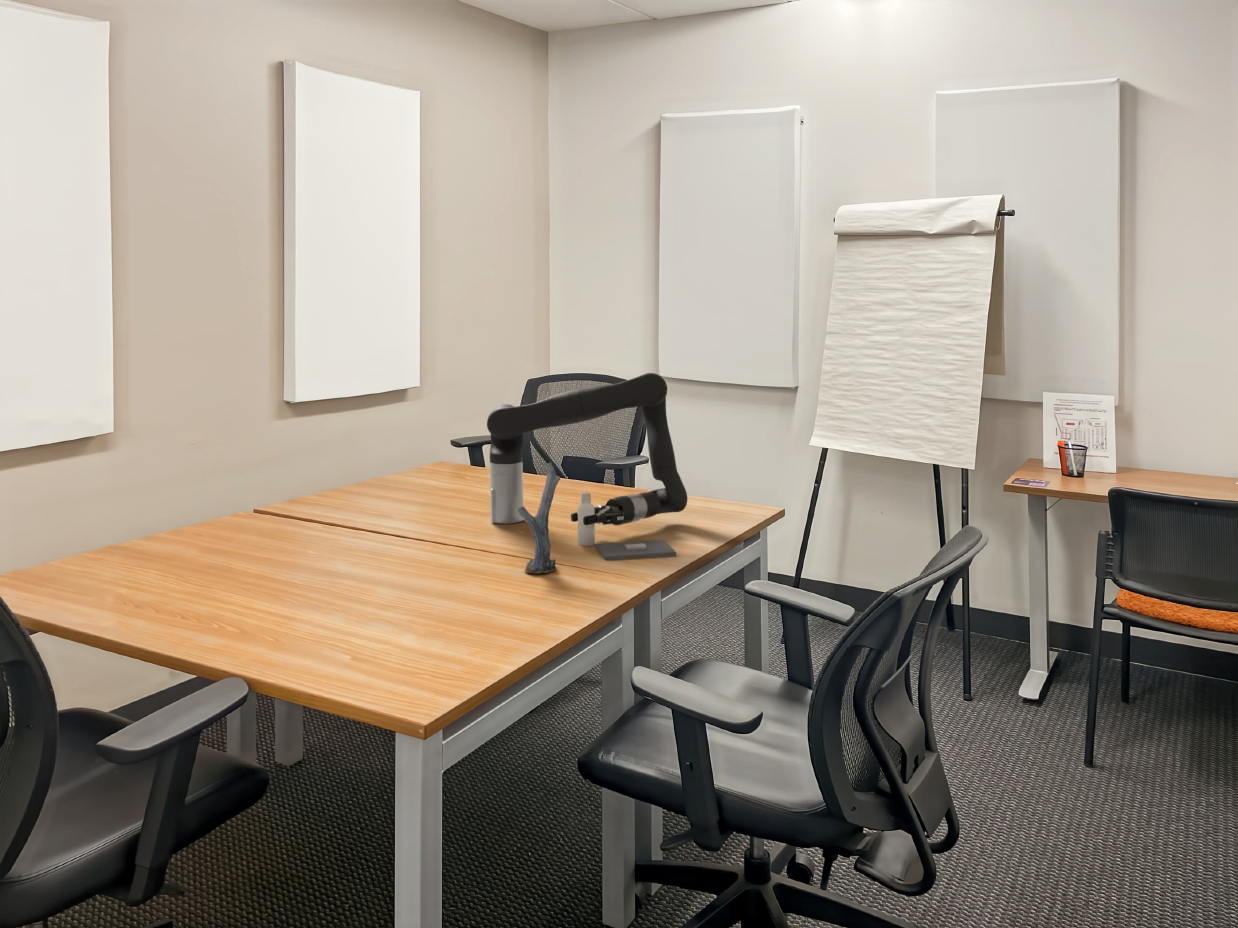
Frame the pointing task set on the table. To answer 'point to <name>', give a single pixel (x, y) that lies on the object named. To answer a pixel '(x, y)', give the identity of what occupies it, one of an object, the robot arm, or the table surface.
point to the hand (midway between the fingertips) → (578, 519)
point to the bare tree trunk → (542, 526)
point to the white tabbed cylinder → (584, 531)
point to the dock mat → (635, 549)
